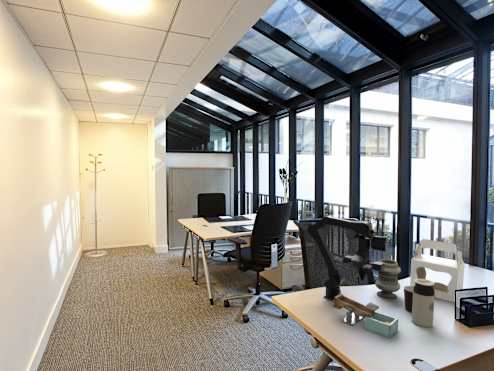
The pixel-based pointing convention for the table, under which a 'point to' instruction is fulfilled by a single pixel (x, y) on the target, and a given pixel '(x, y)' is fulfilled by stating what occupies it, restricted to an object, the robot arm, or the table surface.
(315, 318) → the table surface
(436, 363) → the table surface
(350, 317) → the fulcrum
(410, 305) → the coffee mug
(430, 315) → the travel mug
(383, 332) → the bin
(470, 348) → the table surface
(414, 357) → the table surface
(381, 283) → the apothecary jar
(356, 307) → the lever
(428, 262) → the gable box
